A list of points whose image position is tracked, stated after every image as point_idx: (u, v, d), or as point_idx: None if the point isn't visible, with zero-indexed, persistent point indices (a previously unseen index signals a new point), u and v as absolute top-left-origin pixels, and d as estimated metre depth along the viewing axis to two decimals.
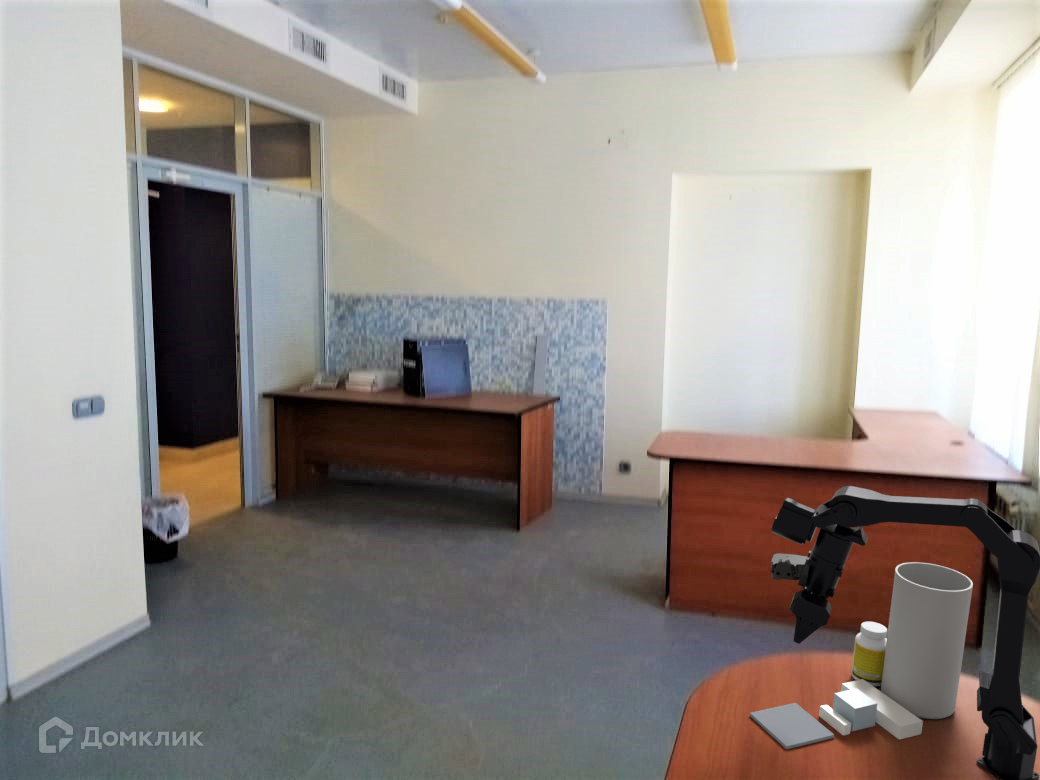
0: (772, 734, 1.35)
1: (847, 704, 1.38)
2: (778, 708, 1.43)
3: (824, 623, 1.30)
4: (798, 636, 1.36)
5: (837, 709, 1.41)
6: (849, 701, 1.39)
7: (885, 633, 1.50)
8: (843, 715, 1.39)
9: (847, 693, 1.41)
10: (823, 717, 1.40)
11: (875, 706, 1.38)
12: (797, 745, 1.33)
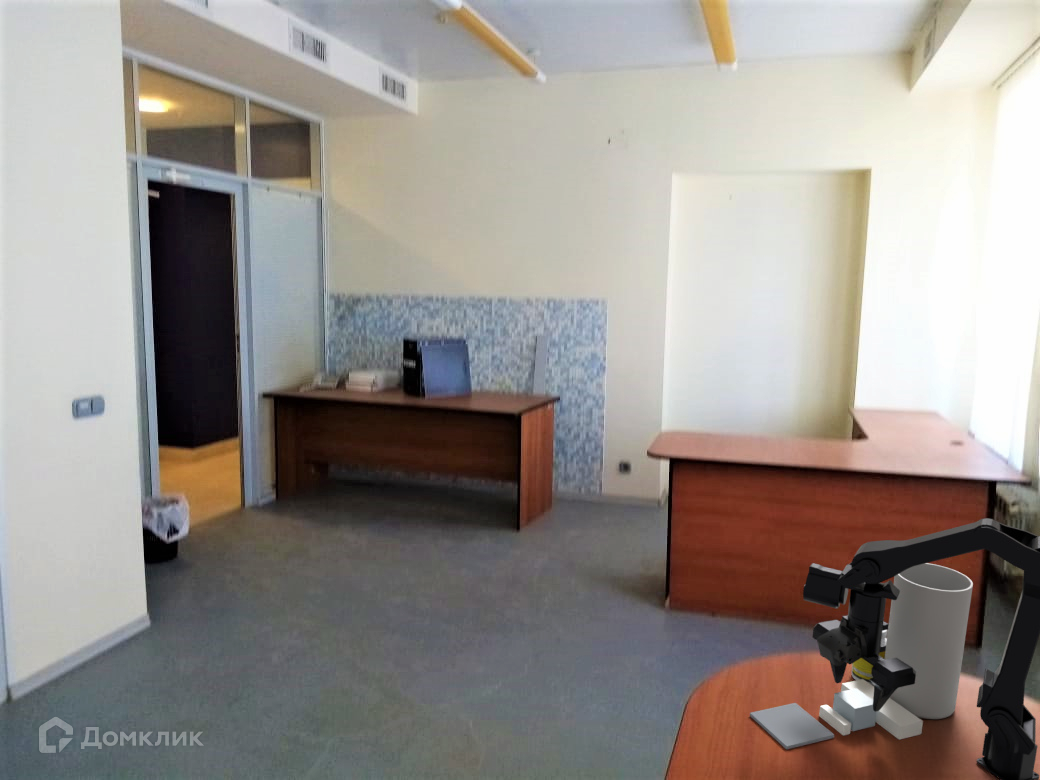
0: (772, 734, 1.35)
1: (847, 704, 1.38)
2: (778, 708, 1.43)
3: (914, 681, 1.31)
4: (879, 704, 1.34)
5: (837, 709, 1.41)
6: (849, 701, 1.39)
7: (885, 633, 1.50)
8: (843, 715, 1.39)
9: (847, 693, 1.41)
10: (823, 717, 1.40)
11: None
12: (797, 745, 1.33)
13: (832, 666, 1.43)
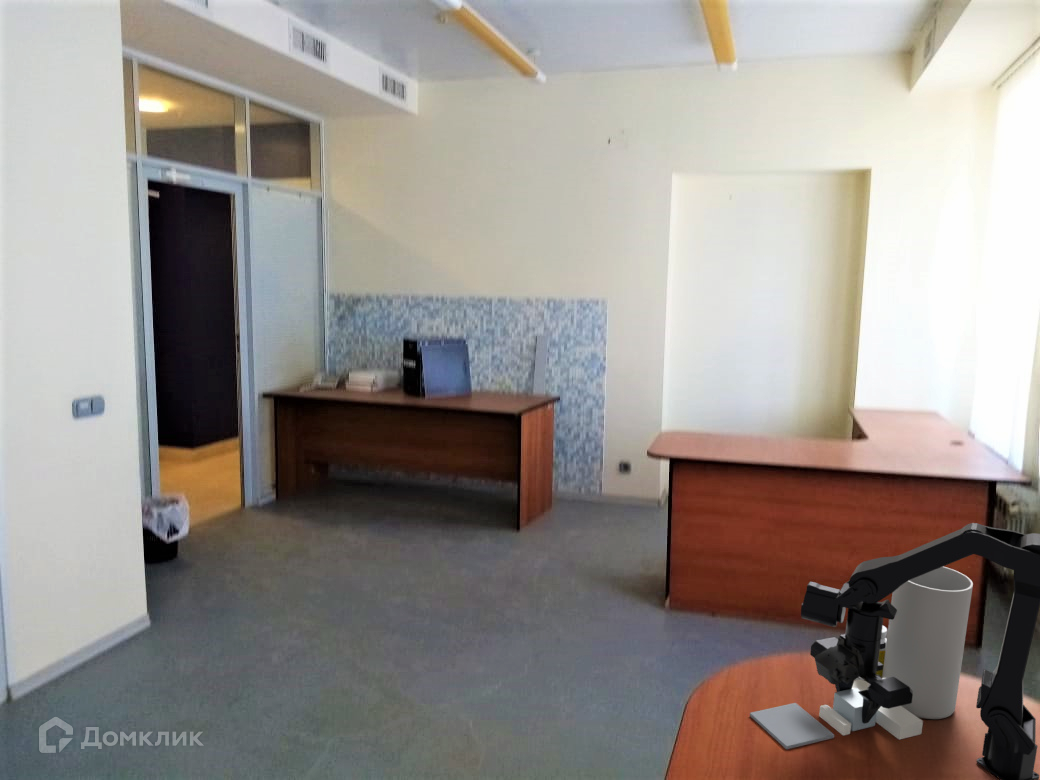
0: (772, 734, 1.35)
1: (847, 703, 1.38)
2: (778, 708, 1.43)
3: (911, 700, 1.31)
4: (868, 717, 1.37)
5: (837, 709, 1.41)
6: (849, 701, 1.39)
7: (885, 633, 1.50)
8: (843, 714, 1.39)
9: (847, 692, 1.41)
10: (823, 717, 1.40)
11: None
12: (797, 745, 1.33)
13: (837, 689, 1.42)
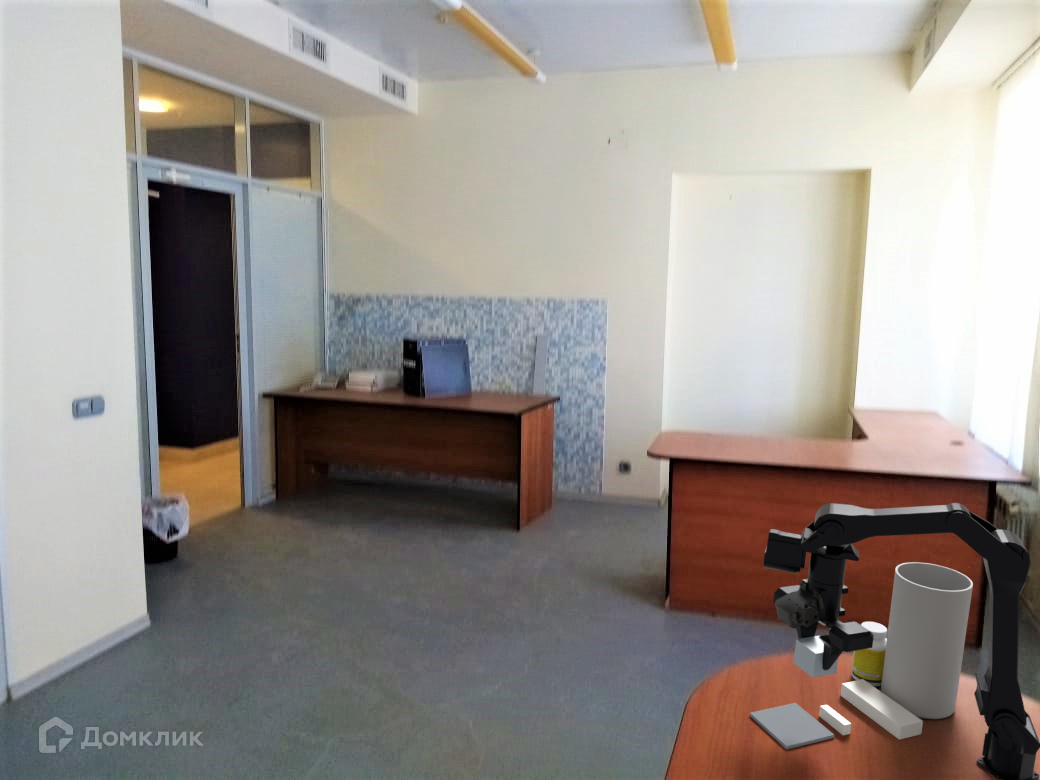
0: (772, 734, 1.35)
1: (808, 649, 1.35)
2: (778, 708, 1.43)
3: None
4: (829, 663, 1.34)
5: (799, 655, 1.37)
6: (810, 647, 1.35)
7: (885, 633, 1.50)
8: (804, 661, 1.36)
9: (809, 639, 1.38)
10: (823, 717, 1.40)
11: None
12: (797, 745, 1.33)
13: (799, 636, 1.39)
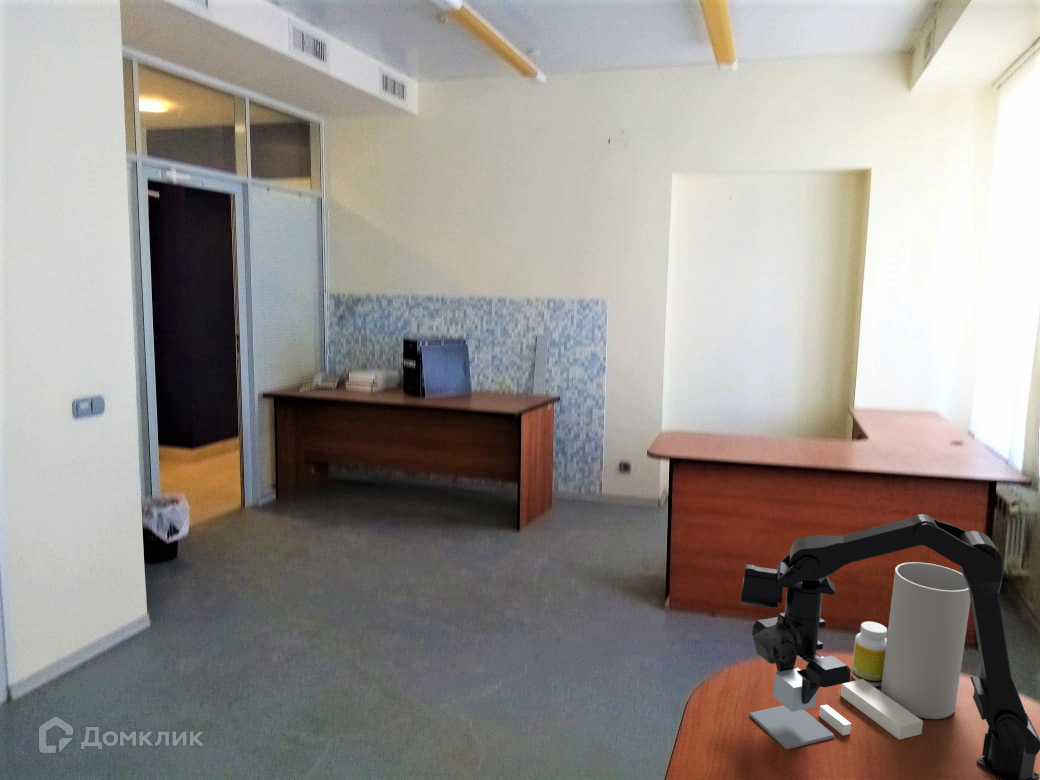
0: (772, 734, 1.35)
1: (787, 683, 1.35)
2: (778, 708, 1.43)
3: (849, 679, 1.28)
4: (808, 697, 1.34)
5: (778, 689, 1.37)
6: (789, 681, 1.35)
7: (885, 633, 1.50)
8: (783, 695, 1.36)
9: (788, 672, 1.38)
10: (823, 717, 1.40)
11: None
12: (797, 745, 1.33)
13: (778, 670, 1.39)
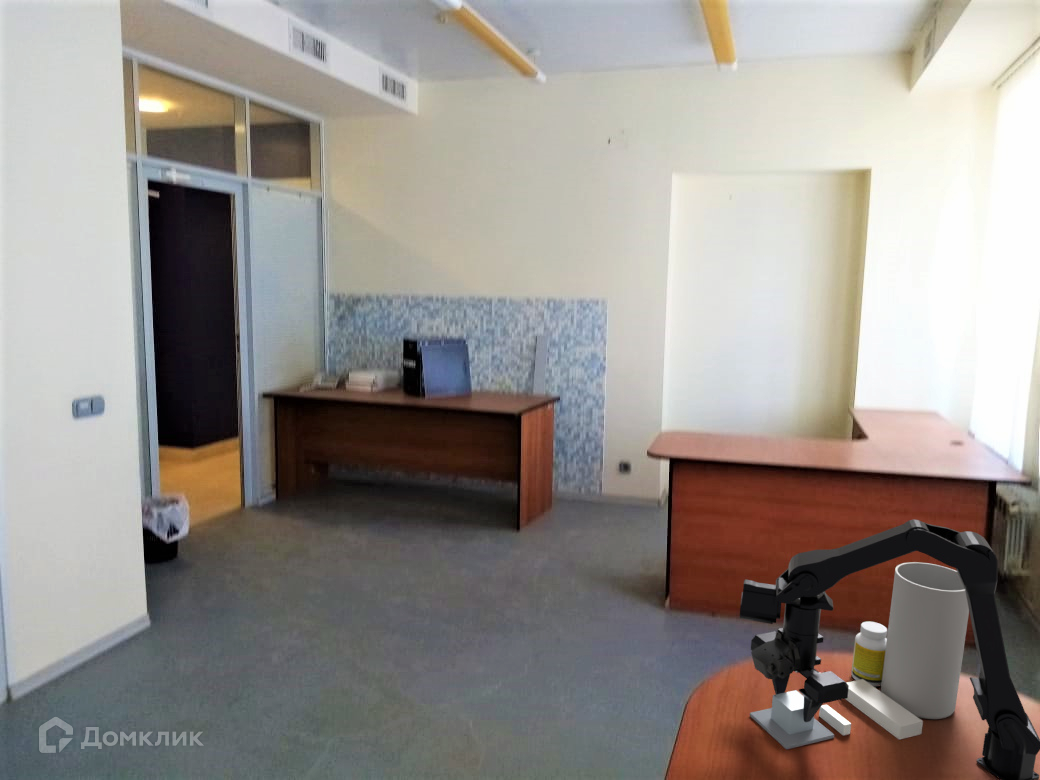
0: (772, 734, 1.35)
1: (784, 706, 1.36)
2: None
3: (847, 695, 1.29)
4: (809, 715, 1.33)
5: (775, 711, 1.38)
6: (786, 703, 1.36)
7: (885, 633, 1.50)
8: (781, 717, 1.37)
9: (786, 695, 1.39)
10: (823, 717, 1.40)
11: None
12: (797, 745, 1.33)
13: (773, 682, 1.40)
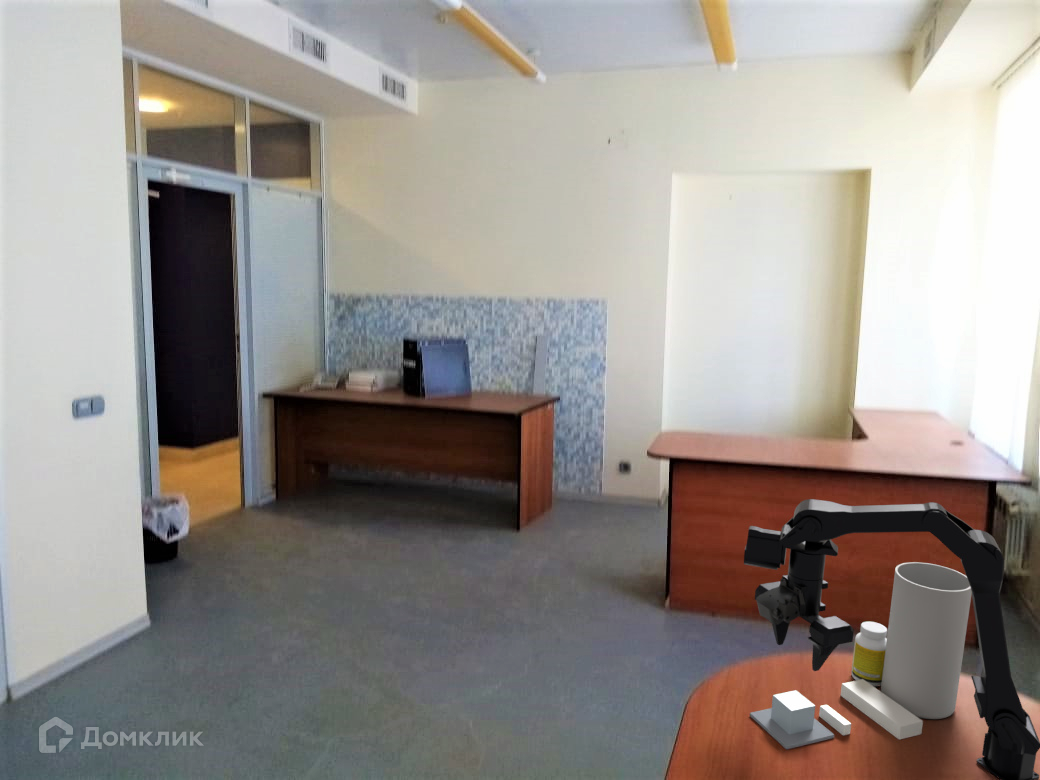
0: (772, 734, 1.35)
1: (784, 706, 1.36)
2: None
3: (852, 639, 1.29)
4: (818, 664, 1.33)
5: (775, 711, 1.38)
6: (786, 703, 1.36)
7: (885, 633, 1.50)
8: (781, 717, 1.37)
9: (786, 695, 1.39)
10: (823, 717, 1.40)
11: (813, 708, 1.36)
12: (797, 745, 1.33)
13: (774, 628, 1.42)
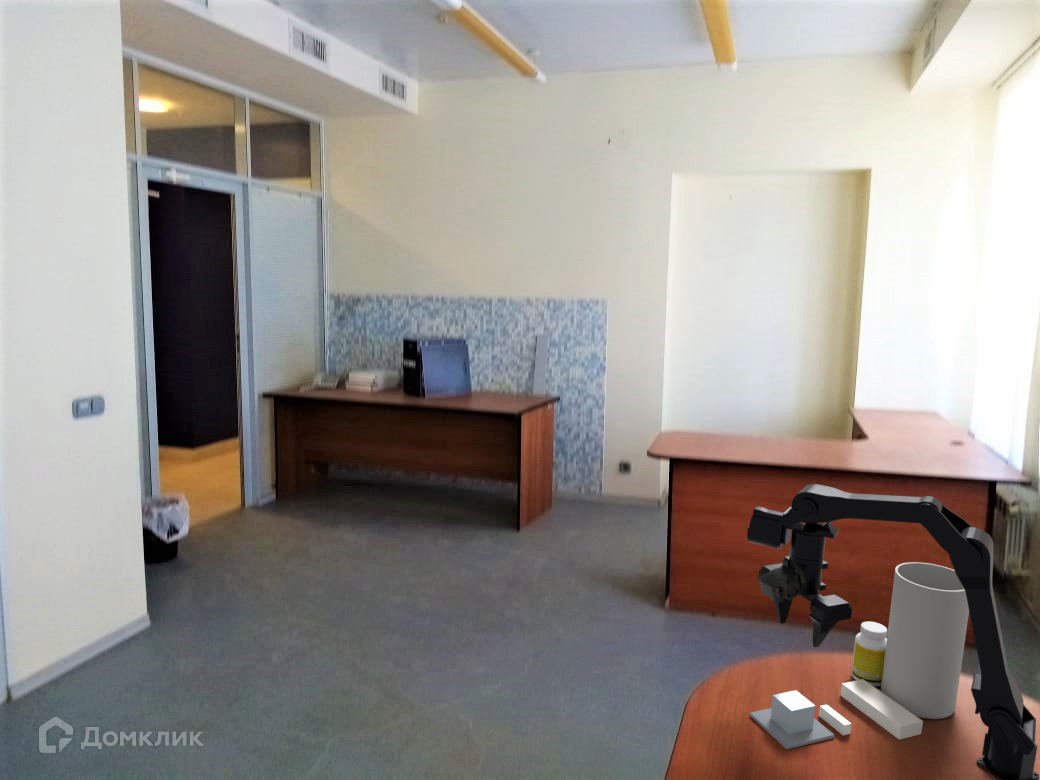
0: (772, 734, 1.35)
1: (784, 706, 1.36)
2: None
3: None
4: (818, 640, 1.39)
5: (775, 711, 1.38)
6: (786, 703, 1.36)
7: (885, 633, 1.50)
8: (781, 717, 1.37)
9: (786, 695, 1.39)
10: (823, 717, 1.40)
11: (813, 708, 1.36)
12: (797, 745, 1.33)
13: (776, 607, 1.48)
